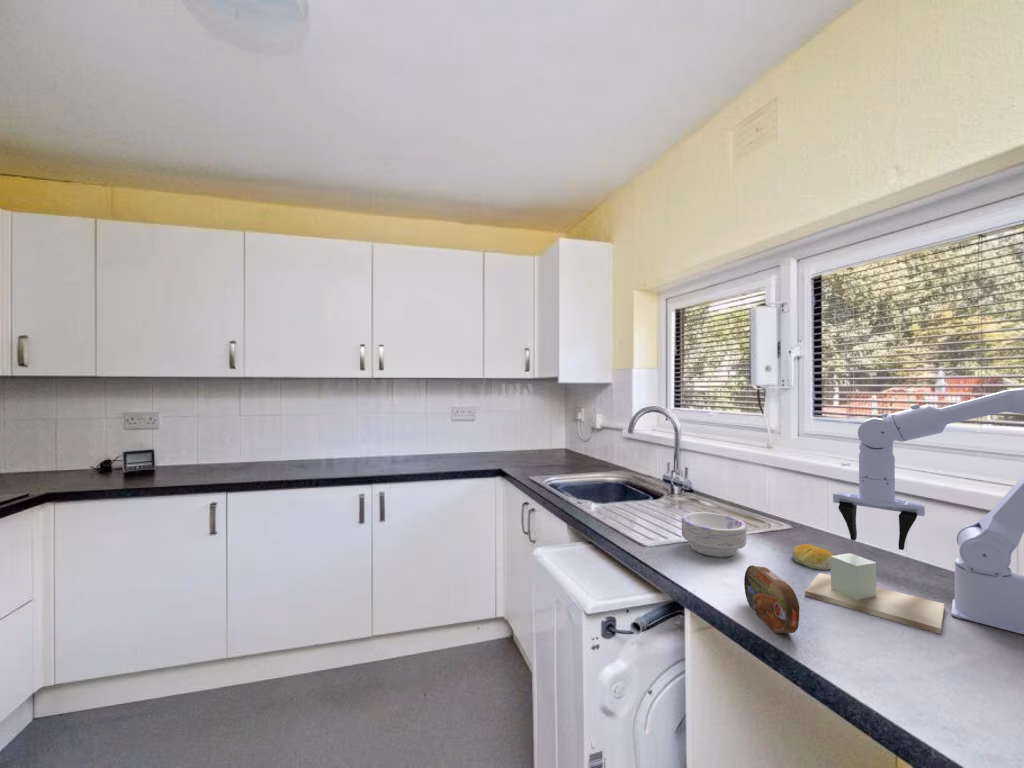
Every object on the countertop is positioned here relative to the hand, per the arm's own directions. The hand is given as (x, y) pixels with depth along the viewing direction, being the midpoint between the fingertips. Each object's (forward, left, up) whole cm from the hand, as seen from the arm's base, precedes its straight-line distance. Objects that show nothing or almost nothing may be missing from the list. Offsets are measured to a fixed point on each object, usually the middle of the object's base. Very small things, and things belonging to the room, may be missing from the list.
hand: (876, 543), depth 93 cm
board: (0, +6, -10) cm, 12 cm away
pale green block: (+3, +6, -9) cm, 11 cm away
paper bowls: (+33, 0, -10) cm, 35 cm away
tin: (+12, +27, -10) cm, 31 cm away
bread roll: (+13, -9, -10) cm, 19 cm away
